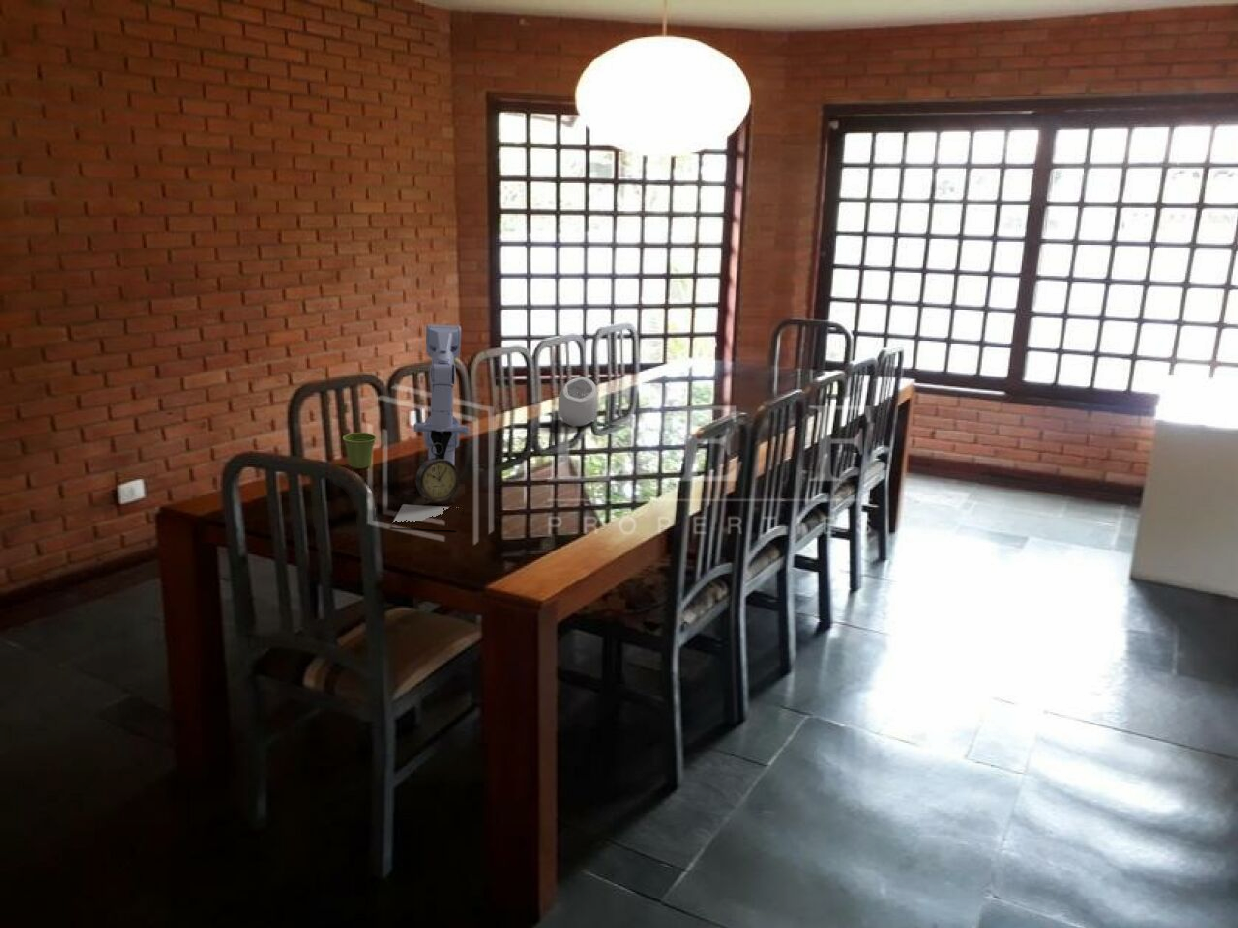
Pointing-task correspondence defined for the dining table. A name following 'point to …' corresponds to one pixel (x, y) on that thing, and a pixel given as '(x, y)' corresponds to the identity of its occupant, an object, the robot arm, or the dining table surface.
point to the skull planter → (578, 402)
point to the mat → (418, 512)
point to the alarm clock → (437, 479)
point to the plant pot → (359, 449)
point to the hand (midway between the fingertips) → (441, 458)
